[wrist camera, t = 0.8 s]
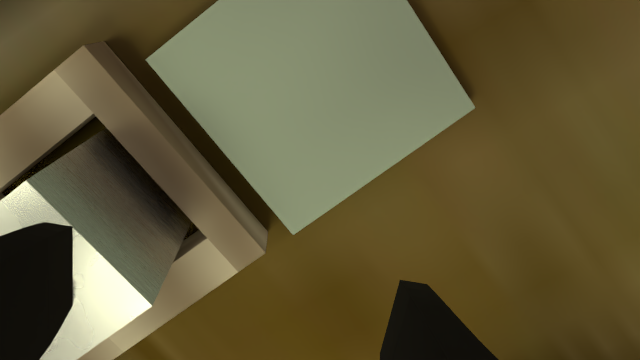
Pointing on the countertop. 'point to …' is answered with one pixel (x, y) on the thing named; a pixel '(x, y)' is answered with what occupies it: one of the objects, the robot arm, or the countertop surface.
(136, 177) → the knob-topped grey cube
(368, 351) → the countertop surface
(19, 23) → the countertop surface
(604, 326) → the countertop surface
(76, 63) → the birch frame
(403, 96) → the rubber pad
